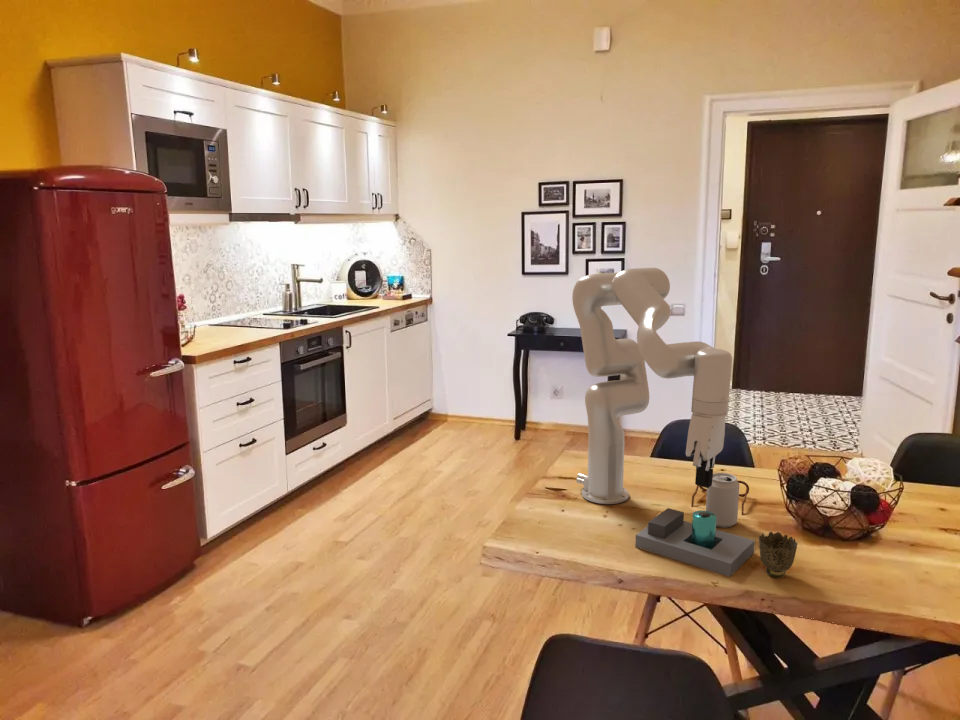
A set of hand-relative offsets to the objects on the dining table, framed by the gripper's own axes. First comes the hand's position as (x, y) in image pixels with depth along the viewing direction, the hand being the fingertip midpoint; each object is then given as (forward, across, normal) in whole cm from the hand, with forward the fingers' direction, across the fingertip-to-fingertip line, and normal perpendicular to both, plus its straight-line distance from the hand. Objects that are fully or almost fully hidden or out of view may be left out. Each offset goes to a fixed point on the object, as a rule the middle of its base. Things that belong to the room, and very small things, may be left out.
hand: (703, 485), depth 157 cm
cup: (+15, 0, +17) cm, 23 cm away
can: (+16, -18, -2) cm, 24 cm away
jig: (+16, 0, -1) cm, 16 cm away
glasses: (+17, -30, -7) cm, 35 cm away
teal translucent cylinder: (+16, 0, +1) cm, 16 cm away
